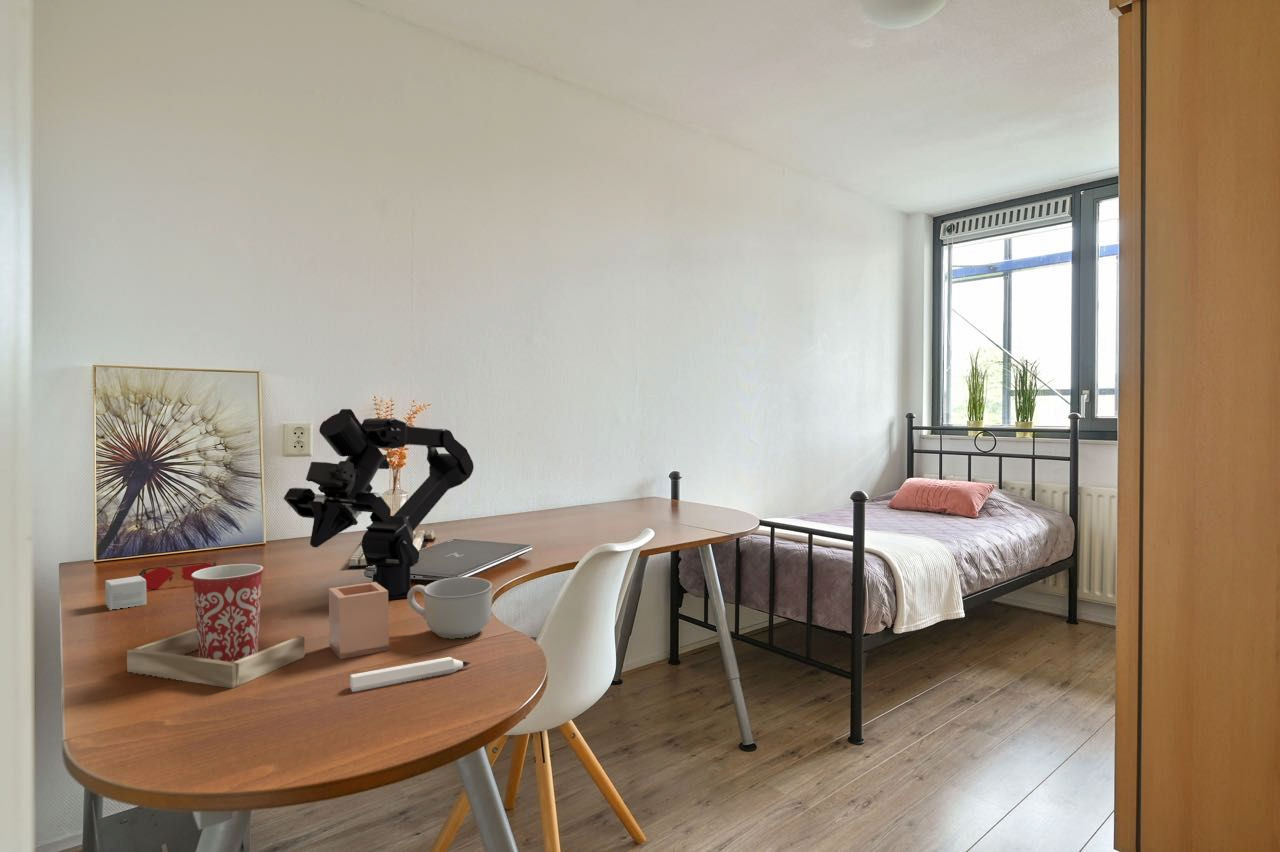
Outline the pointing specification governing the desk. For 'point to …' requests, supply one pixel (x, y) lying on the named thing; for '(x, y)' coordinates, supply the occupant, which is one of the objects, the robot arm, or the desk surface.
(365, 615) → the terracotta pot
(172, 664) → the bay
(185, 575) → the glasses
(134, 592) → the small box
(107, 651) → the desk surface
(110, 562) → the desk surface
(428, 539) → the mechanical keyboard
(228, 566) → the mug
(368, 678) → the marker
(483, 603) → the teacup
